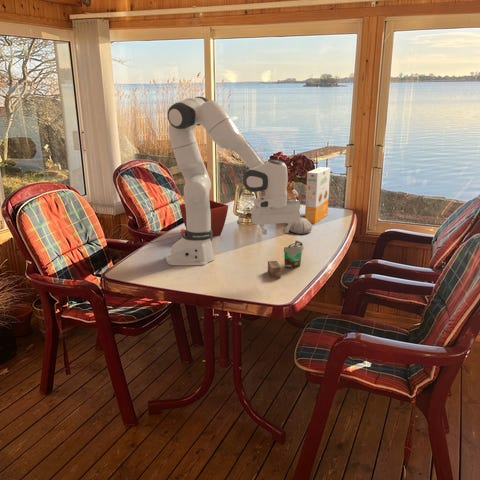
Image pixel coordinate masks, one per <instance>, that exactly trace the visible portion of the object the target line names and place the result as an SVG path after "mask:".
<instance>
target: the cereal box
mask: <svg viewBox="0 0 480 480" xmlns="http://www.w3.org/2000/svg"><path fill="white" fill-rule="evenodd" d="M330 181H331V167H324V166H320V167H317V168H315V169H312V170H309V171H307V172H306V191H305V193H306V194H305V210H304V211H305V213H304V214H305V215H304V218H305V219H307V220H308V221H309V222H310V223H311V225H315V224H318V223H319V222H320V221H322V220H323V219H325V218H326V217H327V216H328V215H329V214H328V213H329V212H328V211H329V196H330V195H329V194H330Z"/></svg>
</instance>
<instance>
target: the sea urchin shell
mask: <svg viewBox="0 0 480 480" xmlns="http://www.w3.org/2000/svg"><path fill="white" fill-rule="evenodd" d="M312 229H313V224H311V223H310V222H309V221H308V220H307V219H305V217H301V216H300V220H299V222H292V225H291V227H290V228H289V231H290V232H291V233H294V234H299V235H301V234H302V235H305V234H309V233H310V232H311V231H312Z"/></svg>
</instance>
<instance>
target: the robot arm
mask: <svg viewBox="0 0 480 480" xmlns="http://www.w3.org/2000/svg"><path fill="white" fill-rule="evenodd" d="M166 114H167V115H166V116H167V120H168V122H169V125H168V137H169V141H170V145H171V148H172V151H173V154H174V155H173V156H174V158H175V162H176V164H177V167H178V169H179V170H180V173H181V174H182V177H183V179H184V185H183V196H184V199H183V200H184V204H185V208H186V222H187V229H186V228H185V229H184V228H181V229H180V234H181V235H182V237H181V238H180V239H179V240H178V241H176V242H175V243H173V244H172V246H171V247H170V248H171V249H170V253H168V254H167V255H166V257H165V261H166V263H167V264H168V265H170V266H205V265H206V264H208V263H210V262H212V261H214V260H215V259H216V257H215V254H214V249H213V243H212V241H213V237H212V229H211V211H210V201H209V200H210V192H211V189H212V181H211V178H210V175H209V173H208V170H207V168H206V165H205V163H204V159H203V157H202V154H201V151H200V147H199V144H198V141H197V138H196V134H195V128H196V126H198V127H199V126H202V127H203V128H204V130H205V132H206V133H207V134H208V136H209V138H210V139H211V140H212V142H214V143H215V144H216V145H217V146H218V147H220V148H222V149H226V150H230V151H233V152H234V153H235V154H237V155H238V156H239V158H241V160H242V161H243V162H244V164H246V166H247V167H248V169H247V170H246V171H245V172H244V174H243V175H242V177H241V178H242V180H241V182H242V184H243V187H244V189H245V190H247V191H249V192H251V193H256V192H257V193H258V192H265V194H264V195H263V196H261V197H258V198H255V199H253V204H254V206H253V207H252V209H251V216H250V220H251V221H250V222H251V223H252V224H253V225H254V226H257V225H258V226H259V227H260V229H261V231H262V232H261V233H262V235H267V234H268V232H267V231H268V230H267V229H266V228H264V227H265V225H273V224H286V225H287V226H286V227H284V228H283V232H284V234H289V231H290V230H289V228H290V227H291V225H292V222H299V220H300V217H301V211H300V209H301V202H300V201H299V200H297V199H288V190H287V187H288V183H289V182H288V180H289V179H288V178H289V177H288V167H287V165H286V163H285V162H283V161H282V160H278V159H270V160H267V161H266V162H265V161H264V160H263V159H262V158H261V157H260V155H258V153H257V152H256V151H255V149H254V148H253V146H252V145H251V144H250V142H249V141H248V140H247V139H246V138H245V137H244V136H243V134H242V133H241V131H240V130H239V129H238V127H237V126H236V123H234V121H233V119H232V118H231V116H230V115H229V113H228V112H226V110H225V109H224V108H223V107H222V105H220V104H219V103H218V101H215V100H209V99H208V98H207V97H204V96H195V97H189V98H186V99H184V100H180V101H177V102H175V103H173V104H172V105H171V106H169V108H168V110H167V113H166Z"/></svg>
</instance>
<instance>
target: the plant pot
mask: <svg viewBox="0 0 480 480" xmlns="http://www.w3.org/2000/svg"><path fill="white" fill-rule="evenodd" d="M209 201H210V211H211V229H212V238H215V237H218V236H219V237H220V236H222V235H221V234H222V233H223V230H224V227H225V224H226V220H227V216H228V210H229V205H228V204H225V203H221V202H217V201H214V200H211V199H209ZM179 210H180V214H181V215H180V216H181V218H182V221H183V223H184V226H185V230H186V229H187V222H186V208H185V203H181V204H179Z"/></svg>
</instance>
